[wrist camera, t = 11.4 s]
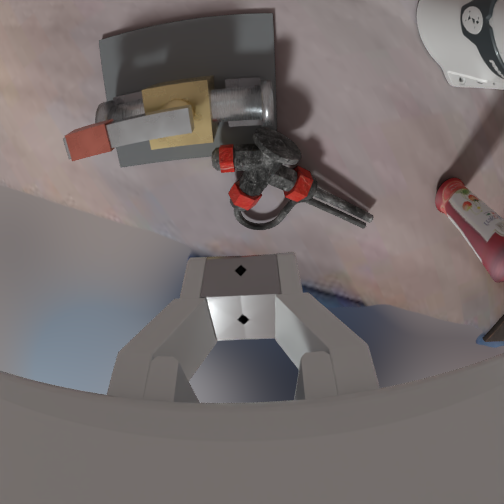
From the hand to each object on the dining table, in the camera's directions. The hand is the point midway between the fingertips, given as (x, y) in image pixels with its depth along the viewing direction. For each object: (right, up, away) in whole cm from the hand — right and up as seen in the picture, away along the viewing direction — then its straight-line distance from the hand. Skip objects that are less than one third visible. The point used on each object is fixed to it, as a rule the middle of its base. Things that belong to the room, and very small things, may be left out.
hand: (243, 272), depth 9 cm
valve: (+6, +9, +34) cm, 36 cm away
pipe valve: (-8, +20, +26) cm, 33 cm away
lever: (-13, +14, +19) cm, 27 cm away
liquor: (+34, +11, +34) cm, 49 cm away
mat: (-8, +21, +24) cm, 33 cm away
